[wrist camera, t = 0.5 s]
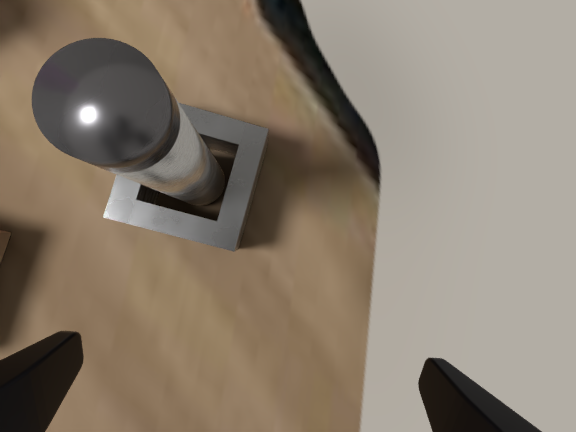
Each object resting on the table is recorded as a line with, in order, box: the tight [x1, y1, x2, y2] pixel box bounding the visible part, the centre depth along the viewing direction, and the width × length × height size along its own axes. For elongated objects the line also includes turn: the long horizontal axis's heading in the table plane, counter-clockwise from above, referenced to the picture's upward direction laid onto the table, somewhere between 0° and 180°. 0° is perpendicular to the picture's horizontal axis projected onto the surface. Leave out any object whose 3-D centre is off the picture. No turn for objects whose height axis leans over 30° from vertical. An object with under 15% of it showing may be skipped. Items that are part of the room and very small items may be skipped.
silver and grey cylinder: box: [32, 38, 225, 206], centre depth 14 cm, size 4×4×12 cm
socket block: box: [103, 103, 269, 251], centre depth 19 cm, size 8×8×3 cm
